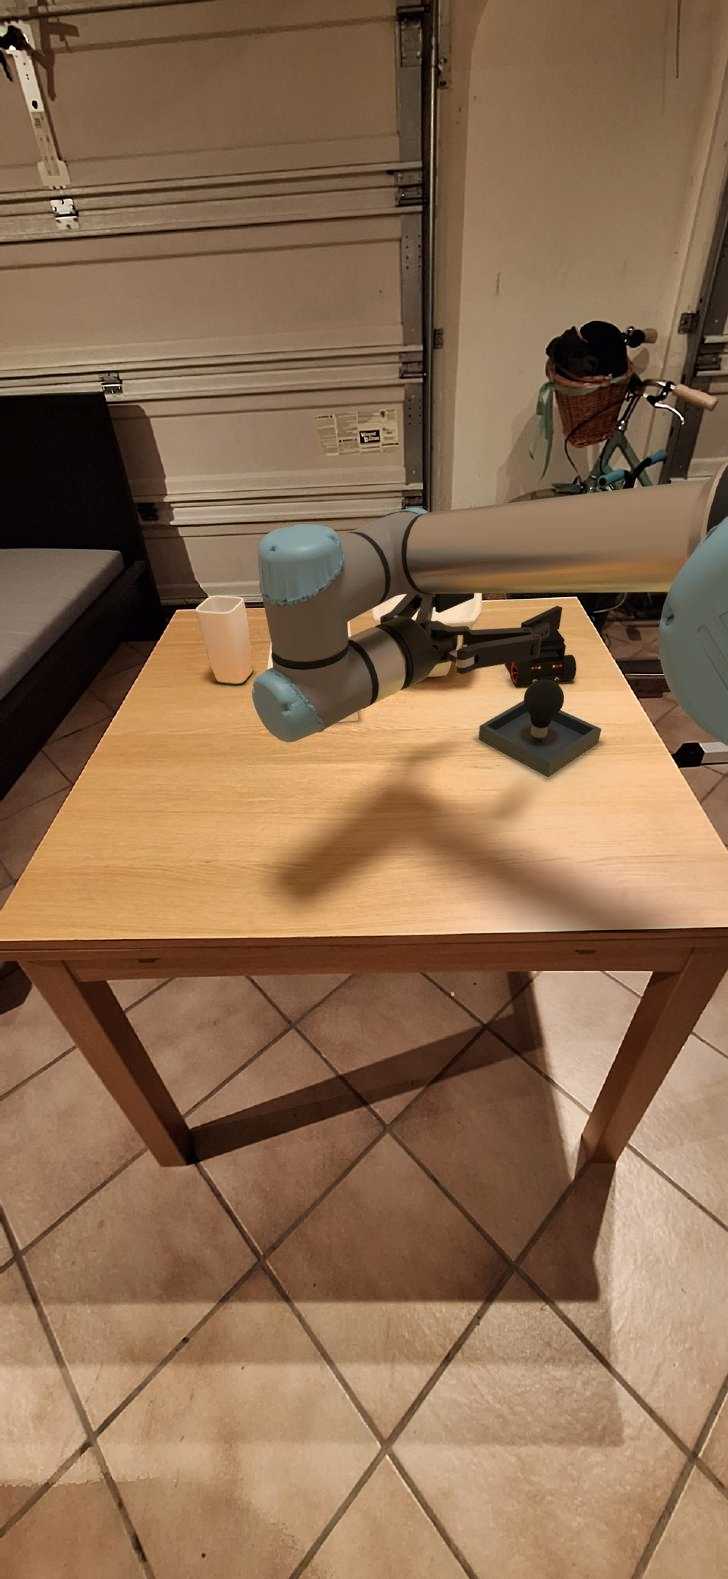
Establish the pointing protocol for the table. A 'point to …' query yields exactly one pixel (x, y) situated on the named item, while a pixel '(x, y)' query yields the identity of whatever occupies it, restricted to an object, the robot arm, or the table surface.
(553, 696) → the light bulb
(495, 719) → the slate tray
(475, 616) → the bowl
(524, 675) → the toy truck
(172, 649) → the table surface
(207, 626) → the cup
